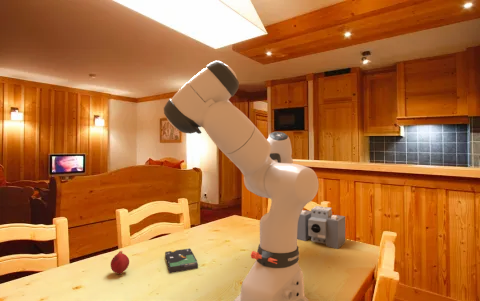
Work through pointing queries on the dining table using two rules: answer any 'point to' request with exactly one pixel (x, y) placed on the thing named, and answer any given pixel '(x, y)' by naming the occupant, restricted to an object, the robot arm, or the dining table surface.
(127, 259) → the onion
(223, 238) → the dining table surface
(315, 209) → the circuit breaker
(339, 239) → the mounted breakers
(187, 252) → the disk drive
